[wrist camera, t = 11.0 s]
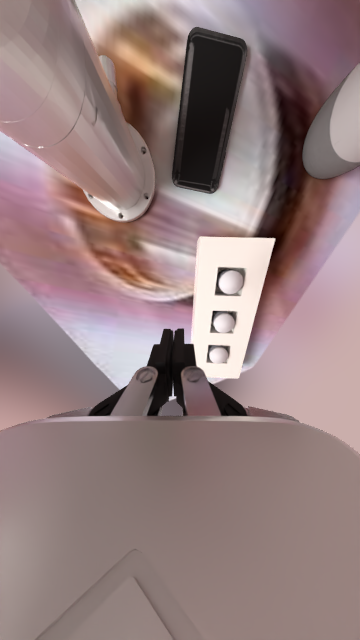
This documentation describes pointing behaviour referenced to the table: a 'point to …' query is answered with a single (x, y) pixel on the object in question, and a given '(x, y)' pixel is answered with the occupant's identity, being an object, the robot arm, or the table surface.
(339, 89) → the smart speaker
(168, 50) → the table surface
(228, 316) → the knob mid
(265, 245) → the console
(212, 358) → the knob
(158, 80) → the table surface
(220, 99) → the phone
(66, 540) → the robot arm
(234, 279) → the knob
